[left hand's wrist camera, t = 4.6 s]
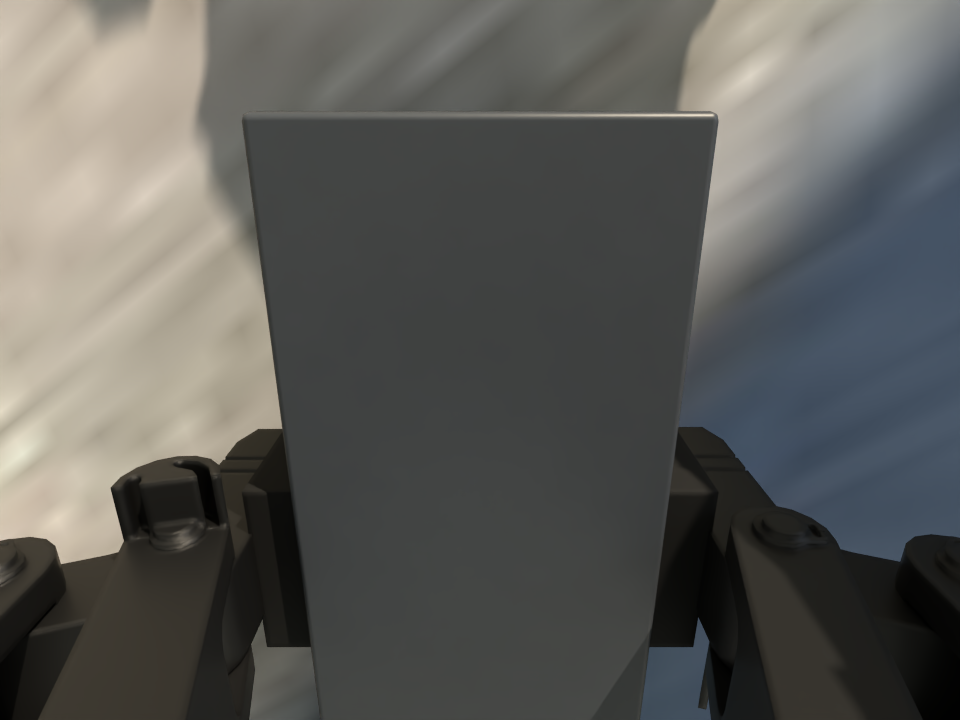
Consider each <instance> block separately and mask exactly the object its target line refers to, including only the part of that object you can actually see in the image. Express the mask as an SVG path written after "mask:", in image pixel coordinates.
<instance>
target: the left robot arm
mask: <svg viewBox="0 0 960 720" xmlns="http://www.w3.org/2000/svg"><path fill="white" fill-rule="evenodd" d="M111 492H112V496H113V499H114V503H115V507H116V511H117V515H118V519H119V523H120V527H121V531H122V535H123V539H124V542H123V544H122V546H121V548H120V551H119V552H118V553H114V554H110V555H106V556H101V557H96V558H91V559H86V560H81V561H76V562H71V563H66V564H61V563H60V560H59V557H58V553H57V550H56V547H55V545H53V544H52V543H51V542H49V541H48V540H47V539H41V538H33V537H26V538H17V539H7V540H2V541H0V720H249V715H250V707H251V699H252V690H253V682H254V674H255V666H254V659H253V653H252V647H251V643H252V641H253V639H254V636H255V634H256V632H257V630H258V628H259V625H260V623H261V621H262V619H263V625H264V631H265V637H266V643H267V647H311V643H310V635H309V627H308V620H307V612H306V605H305V597H304V589H303V582H302V574H301V566H300V559H299V551H298V543H297V536H296V528H295V521H294V513H293V505H292V498H291V490H290V482H289V475H288V467H287V460H286V452H285V444H284V437H283V429H258V430H256V431H254V432H253V433H251V434H250V435H248V436H246V437H245V438H243V439H241V440H240V441H238V442H237V443H236V444H235V446H234V447H233V448H232V449H231V451H230V452H229V453H228V455H227V456H226V459H225V460H223V461H222V462H221V463H220V465H218V464H217V463H215V462H214V461H213V460H211V459H208V458H204V457H199V456H177V457H172V458H167V459H162V460H157V461H154V462H151V463H149V464H146V465H143V466H140V467H137V468H136V469H134V470H132V471H131V472H129V473H127V474H125V475H124V476H122V477H120V479H119V480H118V481H117V482H116V483H115V484H114V485H113V486H112V487H111ZM698 617H699V619H700V622H701V624H702V626H703V628H704V630H705V633H706V635H707V637H708V639H709V641H710V642H709V647H708V653H707V658H706V664H705V670H704V675H703V681H702V687H701V692H700V699H699V705H698V708H702V709H706V708H707V702H708V697H709V706H710V714H711V720H960V538H958V537H952V536H941V535H932V534H930V535H923V536H916V537H914V538H912V539H911V540H910V541H908V542H907V543H906V545H905V548H904V552H903V555H902V558H901V561H900V562H898V561H893V560H888V559H883V558H878V557H873V556H868V555H863V554H858V553H853V552H849V551H845V550H841V549H840V547H839V545H838V543H837V541H836V540H835V538H834V537H833V536H832V535H831V533H830V532H829V531H828V530H827V528H825V527H824V526H822V525H821V524H819V523H818V522H816V521H815V520H814V519H812V518H810V517H808V516H806V515H803V514H801V513H798V512H796V511H794V510H791V509H786V508H782V507H778V506H776V505H775V504H774V503H773V501H772V500H771V499H770V498H769V496H768V495H767V494H766V493H765V491H764V490H763V489H762V488H761V486H760V485H759V484H758V483H757V481H756V480H755V479H754V478H753V476H752V475H751V474H750V473H749V472H748V471H745V467H744V465H743V464H742V463H741V462H740V460H739V459H738V458H735V454H734V453H733V452H732V450H731V449H730V448H729V447H728V445H727V444H726V443H725V442H724V440H722V439H721V438H719V437H718V436H716V435H714V434H713V433H711V432H709V431H708V430H706V429H704V428H703V427H678V433H677V440H676V448H675V456H674V463H673V471H672V478H671V486H670V494H669V501H668V509H667V517H666V524H665V532H664V539H663V547H662V555H661V562H660V570H659V577H658V585H657V593H656V600H655V608H654V615H653V623H652V631H651V638H650V646H649V647H693V645H694V639H695V633H696V627H697V621H698Z"/></svg>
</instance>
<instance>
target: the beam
mask: <svg viewBox="0 0 960 720" xmlns="http://www.w3.org/2000/svg"><path fill="white" fill-rule="evenodd" d="M242 124H243V132H244V139H245V147H246V155H247V162H248V170H249V177H250V185H251V193H252V200H253V208H254V216H255V223H256V231H257V238H258V246H259V254H260V261H261V269H262V277H263V284H264V292H265V299H266V307H267V315H268V322H269V330H270V338H271V345H272V353H273V360H274V368H275V376H276V383H277V391H278V399H279V406H280V414H281V421H282V429H283V437H284V444H285V452H286V460H287V467H288V475H289V482H290V490H291V498H292V505H293V513H294V521H295V528H296V536H297V543H298V551H299V559H300V566H301V574H302V582H303V589H304V597H305V605H306V612H307V620H308V627H309V635H310V643H311V650H312V658H313V666H314V673H315V681H316V688H317V696H318V704H319V711H320V719H321V720H640V714H641V707H642V699H643V692H644V684H645V676H646V669H647V661H648V653H649V646H650V638H651V631H652V623H653V615H654V608H655V600H656V593H657V585H658V577H659V570H660V562H661V555H662V547H663V539H664V532H665V524H666V517H667V509H668V501H669V494H670V486H671V478H672V471H673V463H674V456H675V448H676V440H677V433H678V425H679V418H680V410H681V402H682V395H683V387H684V380H685V372H686V364H687V357H688V349H689V341H690V334H691V326H692V319H693V311H694V303H695V296H696V288H697V281H698V273H699V265H700V258H701V250H702V243H703V235H704V227H705V220H706V212H707V205H708V197H709V189H710V182H711V174H712V166H713V159H714V151H715V144H716V136H717V128H718V116H717V114H715V113H713V112H711V111H250V112H247V113H245V114H244V115H243V119H242Z"/></svg>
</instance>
